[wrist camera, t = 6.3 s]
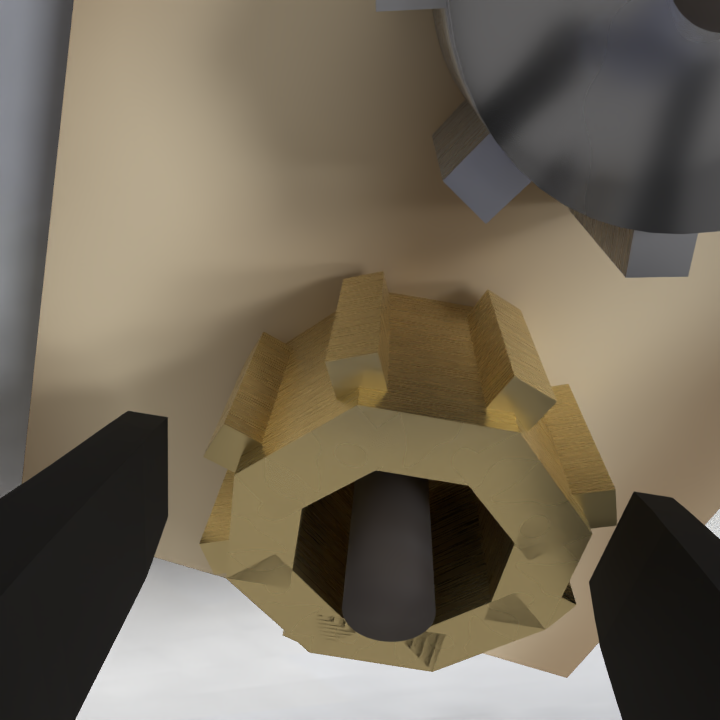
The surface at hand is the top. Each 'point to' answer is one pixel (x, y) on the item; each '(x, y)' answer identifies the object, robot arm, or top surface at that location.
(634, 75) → the steel gear
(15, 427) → the top surface
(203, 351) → the gear board
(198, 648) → the top surface
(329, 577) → the brass gear
